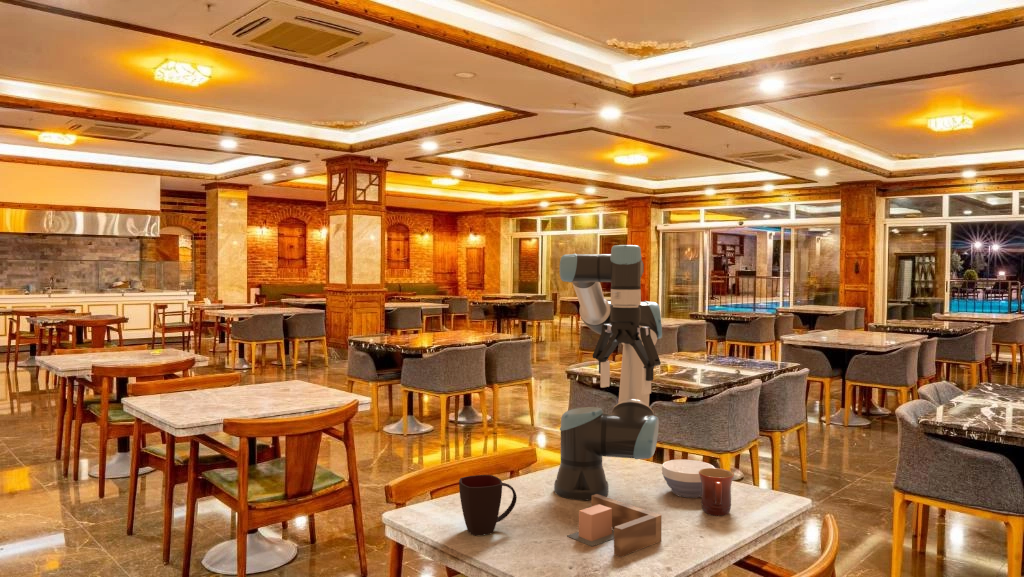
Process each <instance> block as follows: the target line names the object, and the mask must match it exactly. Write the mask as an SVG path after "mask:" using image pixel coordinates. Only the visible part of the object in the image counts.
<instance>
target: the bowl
mask: <svg viewBox="0 0 1024 577" xmlns="http://www.w3.org/2000/svg"><path fill="white" fill-rule="evenodd" d="M706 468H716V467H715V466H714V465H712V464H711V463H708V462H705V461H701V460H695V459H671V460H667V461H665V462H663V463H662V465H661V474H662V476H663V479H664V480H665V482H666V485H667V486H668V487H669V488H670V489H671V490H670V491H671V492H672V493H673V494H674V495H675V496H678V497H682V498H687V499H693V498H694V499H695V498H701V488H702V485H701V479H700V476H699V470H701V469H706Z"/></svg>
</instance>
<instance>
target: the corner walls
mask: <svg viewBox="0 0 1024 577" xmlns="http://www.w3.org/2000/svg"><path fill="white" fill-rule="evenodd" d="M598 504H600V505H603V506H606V507H609V508H612V529H613V528H614V529H613V530H614V539H613V540H614V541H613V554H614V555H615V556H618V557H620V558H622V557H624V556H627V555H629V554H631V553H632V554H633V553H636V552H638V551H640V550H642V549H644V548H645V549H646V548H647V547H650V546H652V545H655V544H658V543H660V542H662V522H663V521H662V519H663V518H662V515H663V514H659V513H657V512H653V511H650V510H647V509H644V508H641V507H638V506H634V505H632V504H629V503H626V502H622V501H619V500H617V499H613V498H610V497H607V496H602V495H598V494H595V495H592V500H591V506H590V507H592V506H595V505H598Z"/></svg>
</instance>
